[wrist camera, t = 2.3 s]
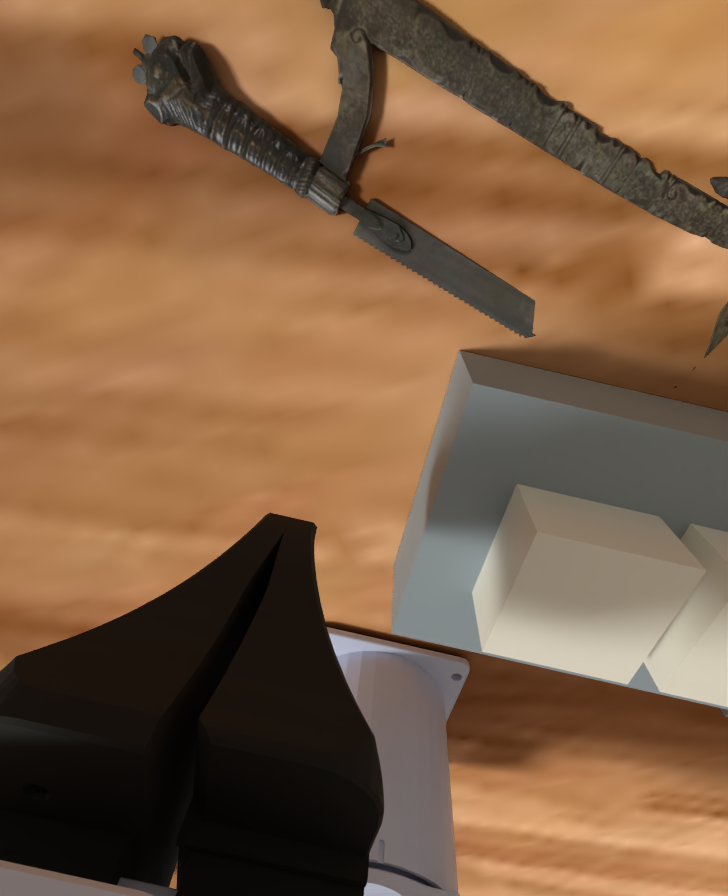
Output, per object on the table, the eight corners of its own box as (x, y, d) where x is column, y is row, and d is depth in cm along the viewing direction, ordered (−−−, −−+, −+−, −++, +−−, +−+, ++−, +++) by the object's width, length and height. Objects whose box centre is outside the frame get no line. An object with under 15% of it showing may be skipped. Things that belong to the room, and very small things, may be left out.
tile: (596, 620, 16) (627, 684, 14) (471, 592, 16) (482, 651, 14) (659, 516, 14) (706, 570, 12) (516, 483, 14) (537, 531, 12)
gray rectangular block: (693, 631, 21) (752, 715, 17) (394, 563, 21) (390, 633, 17) (836, 437, 16) (955, 494, 13) (459, 350, 16) (473, 383, 13)
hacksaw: (137, 106, 15) (109, 93, 13) (264, -386, 10) (242, -480, 9) (716, 461, 18) (741, 480, 16) (994, 198, 14) (1059, 194, 12)
